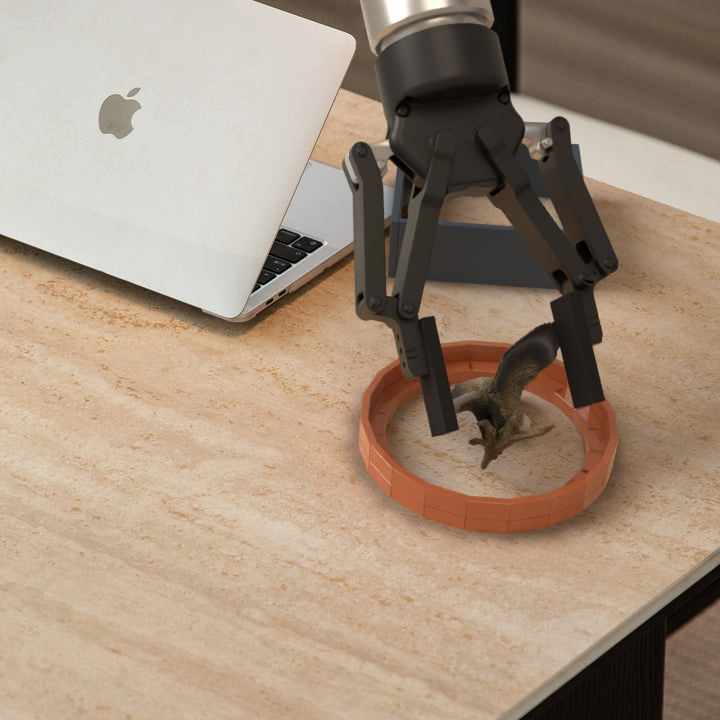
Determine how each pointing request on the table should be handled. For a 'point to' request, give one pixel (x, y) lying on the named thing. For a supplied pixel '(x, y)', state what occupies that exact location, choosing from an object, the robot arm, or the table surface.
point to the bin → (477, 241)
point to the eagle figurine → (508, 393)
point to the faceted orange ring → (475, 510)
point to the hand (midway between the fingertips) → (518, 418)
